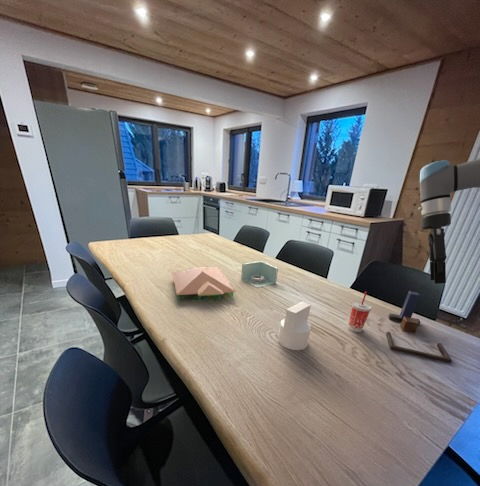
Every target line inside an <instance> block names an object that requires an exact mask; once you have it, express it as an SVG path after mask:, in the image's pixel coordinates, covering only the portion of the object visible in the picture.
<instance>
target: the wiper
mask: <svg viewBox="0 0 480 486" xmlns="http://www.w3.org/2000/svg"><path fill="white" fill-rule="evenodd" d="M420 297H421V295H420V293H419V292H416V291H411V290H408V292H407V294H406V298H405V300H404V303H403V306H402V308H401V311H400V313H399V314H395V313H390V312H389V314H388V319H389V320H390V321H395V322H400V323H402V320H403V318H404V316H405V317H410V318H413V317H412V316H413V314H414V312H415V309H416V307H417V304H418V302H419V299H420ZM414 318H415V319H417V321H418V323H419V325H420V324H421V320H420V319H419V318H416V317H414Z"/></svg>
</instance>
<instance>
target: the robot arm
mask: <svg viewBox="0 0 480 486" xmlns="http://www.w3.org/2000/svg"><path fill="white" fill-rule="evenodd" d="M474 188H475V189H478V188H479V189H480V158H476V159H472V160H469V161H466V162H462V163H459V164H454V165H451V164H450V161H449V160H447V159H443V160H437V161H433V162H431V163H428V164H425V165H424V166H423V167H422V168H421V169H420V171H419V195H420V207H418V211H420V213H421V214H420V216H421V219H420V220H421V221H420V222H421V229H422V231H423V230H425V231H426V230H430V232H429V233H428V235H427V240H428V246H429V249H428V250H429V257H428V260H429V274H430V275H429V278H430V279H429V280H430V281H434V284H436V285H438V284H446V283H447V272H446V271H447V269H446V267H447V266H446V260H447V253H446V252H447V251H446V243H445V242H446V240H445V237H446V235H445V234H446V232H445V229H444V227H448V226H451V224H452V216H451V215H452V214H451V213H450V212H451V211H452V207H451V206H452V203H451V201H452V200H451V193H455V192H457V191H462V190H468V189H474Z"/></svg>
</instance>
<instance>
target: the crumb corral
mask: <svg viewBox="0 0 480 486" xmlns="http://www.w3.org/2000/svg"><path fill="white" fill-rule="evenodd" d="M385 336H386V339H387V342H388V345H389V349H390V350H391V351H395V352H399V353H404V354H407V355H408V354H409V355H412V356H417V357H421V358H425V359H429V360H435V361H438V362H443V363H447V364H451V363H452V362H453V361H452V358H451V356H450V355H449V353H448V351H447V350H446V349H445V347H444V345H443V343H441V342H437V343H436V347H437V349H438V351H439V352H440V354H441V355H438V354H435V353H429V352H424V351H420V350H416V349H413V348H406V347H404V346H403V347H402V346H398V345H395V342H394V339H393V337H392V334H391V332H390V331H386V334H385Z"/></svg>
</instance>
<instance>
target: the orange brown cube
mask: <svg viewBox="0 0 480 486" xmlns="http://www.w3.org/2000/svg"><path fill="white" fill-rule="evenodd" d="M415 318H416V317H411V318H410V317H405V316H404V318H403V320H402V322H400V325H399V326H400V329H401V331H402V332H405V333H410V334H416V332H417V330H418V328H419V326H420V324H419V323H418V321H417V319H418V318H416V319H415Z"/></svg>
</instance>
